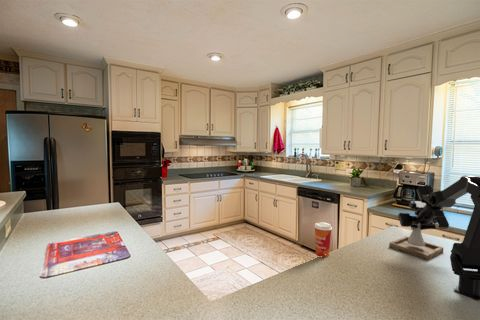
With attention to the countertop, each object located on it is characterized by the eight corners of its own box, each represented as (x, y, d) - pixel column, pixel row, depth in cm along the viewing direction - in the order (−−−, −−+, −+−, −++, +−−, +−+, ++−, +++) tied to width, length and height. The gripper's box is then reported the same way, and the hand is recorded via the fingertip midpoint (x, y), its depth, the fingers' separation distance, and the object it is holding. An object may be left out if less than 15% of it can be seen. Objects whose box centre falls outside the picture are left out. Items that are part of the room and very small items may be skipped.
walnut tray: (427, 260, 106) (427, 255, 106) (389, 246, 120) (389, 242, 119) (443, 252, 114) (443, 247, 114) (405, 240, 128) (405, 236, 128)
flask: (423, 248, 111) (424, 226, 111) (405, 243, 117) (405, 222, 116) (427, 244, 116) (428, 223, 116) (409, 239, 122) (410, 219, 121)
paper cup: (309, 252, 113) (310, 223, 112) (322, 249, 116) (323, 220, 115) (322, 260, 106) (323, 228, 105) (335, 256, 109) (336, 225, 108)
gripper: (446, 197, 109) (430, 215, 121) (400, 195, 113) (389, 213, 124) (457, 220, 102) (439, 236, 114) (408, 217, 106) (395, 233, 117)
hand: (415, 228), depth 117 cm, fingers closed on flask, 3 cm apart
